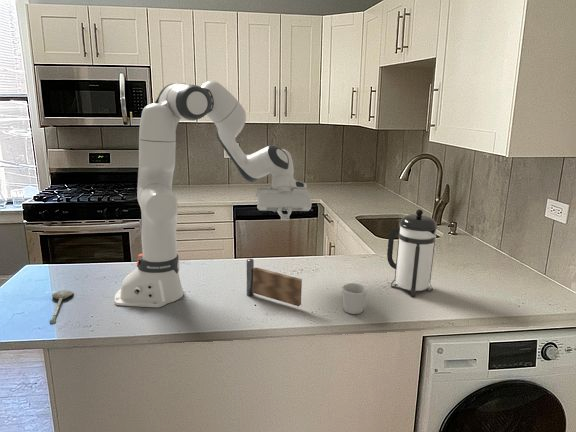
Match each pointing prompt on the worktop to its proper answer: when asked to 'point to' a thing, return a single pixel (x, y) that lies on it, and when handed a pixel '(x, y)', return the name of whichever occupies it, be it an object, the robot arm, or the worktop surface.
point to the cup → (353, 298)
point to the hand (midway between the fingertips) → (285, 219)
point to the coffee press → (413, 252)
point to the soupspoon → (60, 296)
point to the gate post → (250, 277)
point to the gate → (277, 286)
